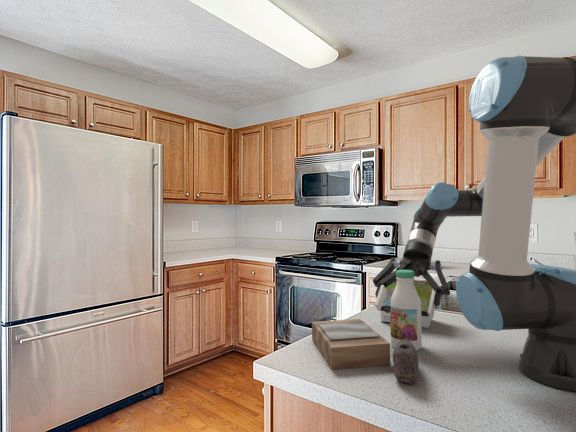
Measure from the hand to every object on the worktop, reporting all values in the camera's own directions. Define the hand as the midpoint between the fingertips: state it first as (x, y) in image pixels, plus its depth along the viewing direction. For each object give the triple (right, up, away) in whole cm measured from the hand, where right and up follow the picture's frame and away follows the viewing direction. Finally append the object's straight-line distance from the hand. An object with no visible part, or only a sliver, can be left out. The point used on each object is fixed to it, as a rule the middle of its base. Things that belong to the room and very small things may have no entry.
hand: (402, 311), depth 93 cm
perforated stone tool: (-4, -10, -14) cm, 18 cm away
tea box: (+9, -10, +24) cm, 28 cm away
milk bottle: (+1, -10, +2) cm, 10 cm away
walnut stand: (-14, -10, -1) cm, 17 cm away
